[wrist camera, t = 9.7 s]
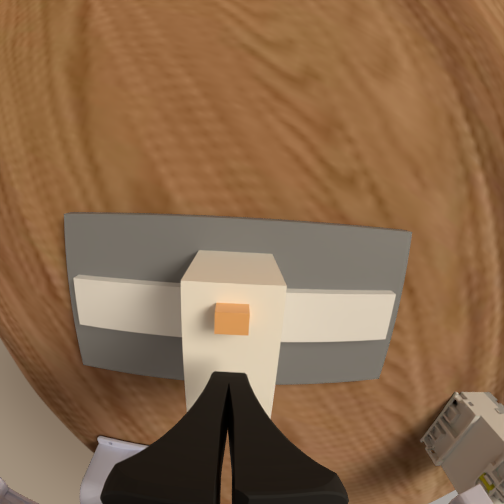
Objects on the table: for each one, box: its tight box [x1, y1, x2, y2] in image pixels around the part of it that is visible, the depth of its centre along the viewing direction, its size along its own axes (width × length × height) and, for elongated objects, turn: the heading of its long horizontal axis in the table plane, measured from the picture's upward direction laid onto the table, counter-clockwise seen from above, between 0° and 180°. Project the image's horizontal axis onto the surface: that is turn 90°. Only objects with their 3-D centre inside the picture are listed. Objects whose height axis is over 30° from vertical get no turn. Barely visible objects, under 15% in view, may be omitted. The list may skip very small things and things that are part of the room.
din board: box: [64, 212, 412, 385], centre depth 19 cm, size 24×12×2 cm, turn 86°
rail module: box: [181, 250, 287, 418], centre depth 16 cm, size 4×8×7 cm, turn 176°
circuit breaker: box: [420, 392, 504, 504], centre depth 18 cm, size 8×14×15 cm, turn 72°
